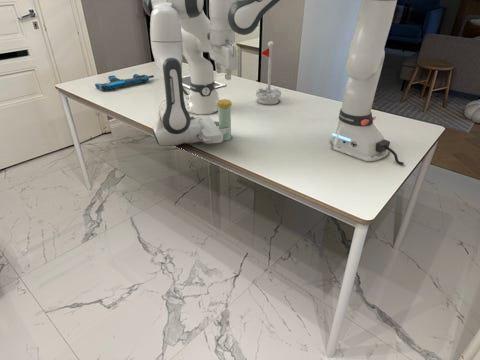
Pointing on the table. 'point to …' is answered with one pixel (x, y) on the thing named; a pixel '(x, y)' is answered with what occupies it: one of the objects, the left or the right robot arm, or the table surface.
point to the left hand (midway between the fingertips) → (226, 126)
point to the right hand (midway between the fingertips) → (223, 76)
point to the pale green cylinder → (225, 121)
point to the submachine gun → (122, 82)
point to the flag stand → (268, 94)
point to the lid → (224, 103)
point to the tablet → (187, 80)
